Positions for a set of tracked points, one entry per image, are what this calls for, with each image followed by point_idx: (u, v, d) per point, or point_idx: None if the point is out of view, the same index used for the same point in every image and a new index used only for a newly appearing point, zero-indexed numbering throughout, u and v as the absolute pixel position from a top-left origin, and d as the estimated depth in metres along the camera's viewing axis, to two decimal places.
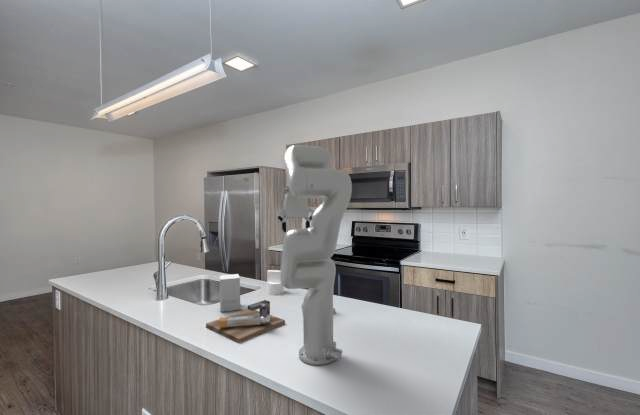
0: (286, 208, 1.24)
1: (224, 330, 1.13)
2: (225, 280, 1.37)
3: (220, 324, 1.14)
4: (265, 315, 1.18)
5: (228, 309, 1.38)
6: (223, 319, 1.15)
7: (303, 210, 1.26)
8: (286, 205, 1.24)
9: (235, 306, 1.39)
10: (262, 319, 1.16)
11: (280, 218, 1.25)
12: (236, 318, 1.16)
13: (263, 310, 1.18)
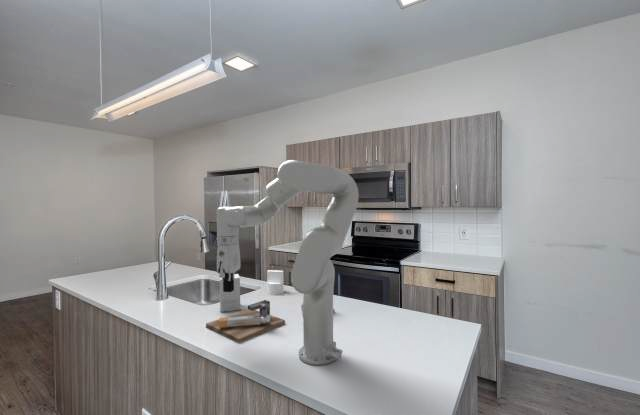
0: (229, 263, 1.05)
1: (224, 330, 1.13)
2: None
3: (220, 324, 1.14)
4: (265, 315, 1.18)
5: (228, 309, 1.38)
6: (223, 319, 1.15)
7: (238, 262, 1.12)
8: (228, 259, 1.05)
9: (235, 306, 1.39)
10: (262, 319, 1.16)
11: (227, 276, 1.07)
12: (236, 318, 1.16)
13: (263, 310, 1.18)
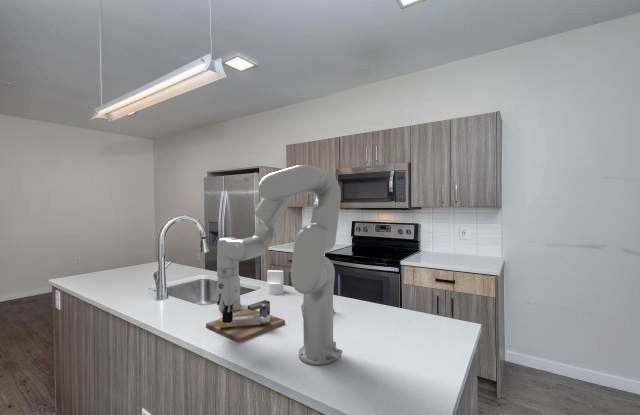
0: (228, 295, 1.05)
1: (224, 330, 1.13)
2: None
3: (220, 324, 1.14)
4: (265, 315, 1.18)
5: None
6: None
7: (238, 292, 1.12)
8: (228, 292, 1.05)
9: (235, 306, 1.39)
10: (262, 319, 1.16)
11: (226, 307, 1.08)
12: (236, 318, 1.16)
13: (263, 310, 1.18)
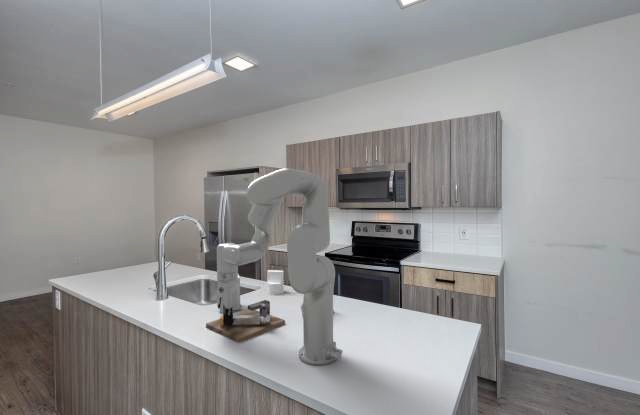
0: (228, 299, 1.10)
1: (224, 330, 1.13)
2: None
3: (221, 322, 1.16)
4: (265, 315, 1.18)
5: None
6: None
7: (237, 295, 1.17)
8: (228, 295, 1.10)
9: (235, 306, 1.39)
10: (261, 319, 1.16)
11: (227, 310, 1.12)
12: (236, 317, 1.18)
13: (263, 310, 1.18)
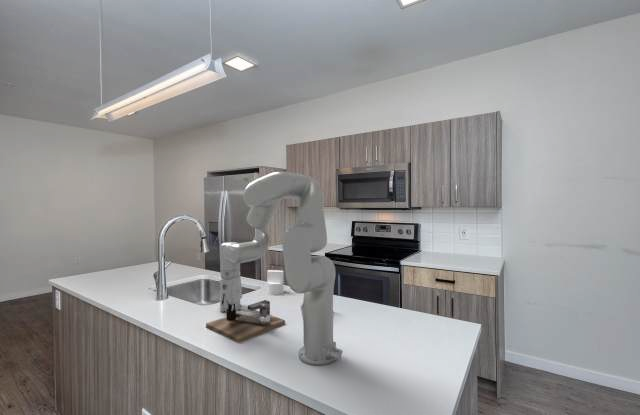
0: (231, 295, 1.15)
1: (224, 330, 1.13)
2: None
3: None
4: (264, 315, 1.18)
5: None
6: None
7: (240, 292, 1.22)
8: (231, 292, 1.15)
9: None
10: (260, 318, 1.17)
11: (230, 306, 1.18)
12: (241, 313, 1.22)
13: (262, 310, 1.18)
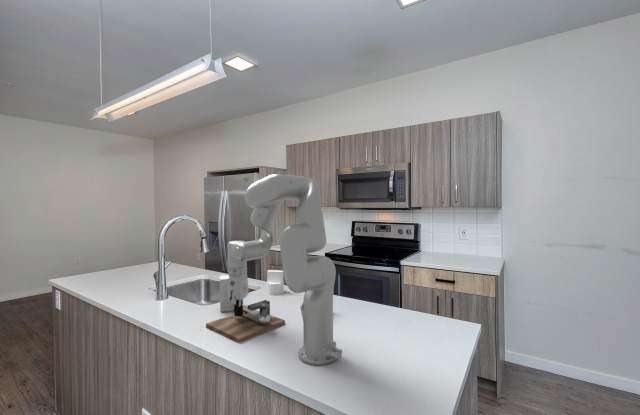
0: (239, 291, 1.20)
1: (224, 330, 1.13)
2: (225, 280, 1.37)
3: None
4: (263, 315, 1.18)
5: (228, 309, 1.38)
6: None
7: (246, 289, 1.27)
8: (239, 288, 1.20)
9: None
10: (259, 318, 1.17)
11: (237, 302, 1.23)
12: (248, 310, 1.25)
13: None
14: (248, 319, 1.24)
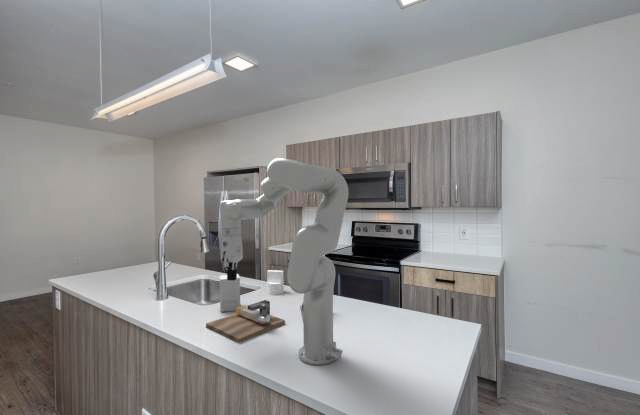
0: (232, 253, 1.12)
1: (224, 330, 1.13)
2: (225, 280, 1.37)
3: (236, 311, 1.28)
4: (263, 315, 1.18)
5: (228, 309, 1.38)
6: (240, 307, 1.28)
7: (241, 252, 1.19)
8: (231, 249, 1.12)
9: (235, 306, 1.39)
10: (259, 318, 1.17)
11: (231, 265, 1.15)
12: (247, 310, 1.25)
13: None
14: (248, 319, 1.24)
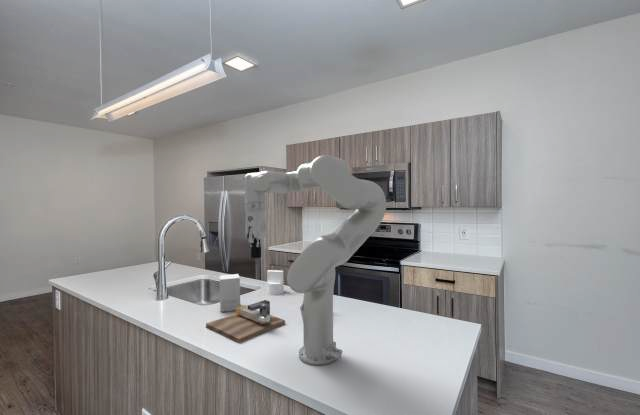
0: (257, 228, 1.05)
1: (224, 330, 1.13)
2: (225, 280, 1.37)
3: (236, 311, 1.28)
4: (263, 315, 1.18)
5: (228, 309, 1.38)
6: (240, 307, 1.28)
7: (265, 229, 1.12)
8: (257, 224, 1.05)
9: (235, 306, 1.39)
10: (259, 318, 1.17)
11: (255, 241, 1.08)
12: (247, 310, 1.25)
13: None
14: (248, 319, 1.24)
